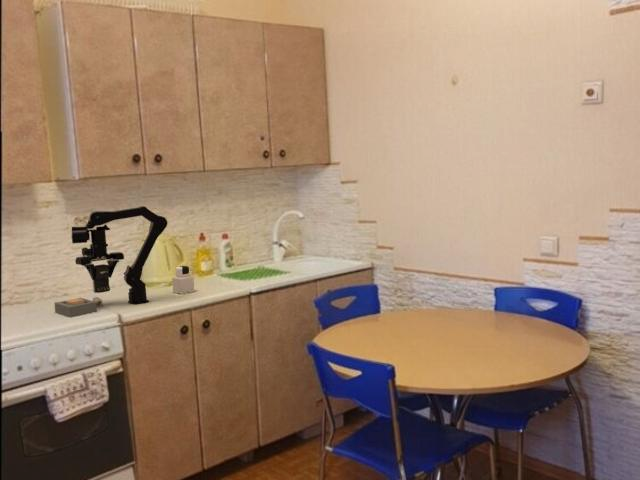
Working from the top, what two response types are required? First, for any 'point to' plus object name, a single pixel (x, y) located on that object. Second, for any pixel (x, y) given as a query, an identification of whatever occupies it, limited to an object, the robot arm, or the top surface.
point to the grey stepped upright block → (183, 280)
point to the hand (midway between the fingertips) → (101, 278)
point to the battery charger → (101, 278)
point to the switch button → (75, 302)
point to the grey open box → (75, 308)
